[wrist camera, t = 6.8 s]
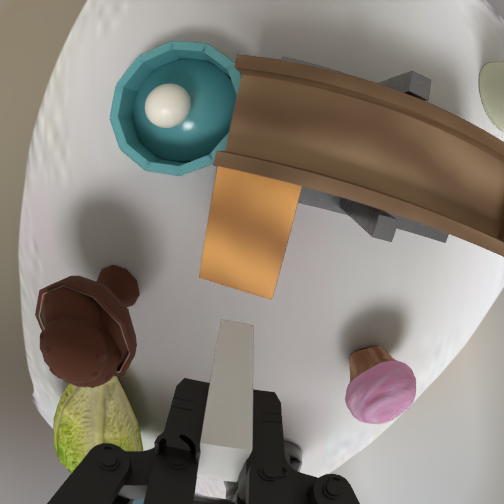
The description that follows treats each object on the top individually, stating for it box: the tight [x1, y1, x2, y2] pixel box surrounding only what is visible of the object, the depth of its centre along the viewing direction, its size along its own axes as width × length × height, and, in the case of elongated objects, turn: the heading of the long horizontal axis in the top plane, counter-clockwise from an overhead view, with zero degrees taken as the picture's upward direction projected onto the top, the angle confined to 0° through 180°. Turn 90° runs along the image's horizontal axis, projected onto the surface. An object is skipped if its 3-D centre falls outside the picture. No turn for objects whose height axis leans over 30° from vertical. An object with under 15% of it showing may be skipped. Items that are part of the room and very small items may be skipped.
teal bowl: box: [110, 41, 241, 176], centre depth 23 cm, size 12×12×4 cm
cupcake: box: [345, 346, 416, 424], centre depth 30 cm, size 9×9×10 cm
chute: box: [199, 55, 504, 300], centre depth 20 cm, size 17×24×6 cm
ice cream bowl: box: [35, 265, 139, 388], centre depth 24 cm, size 11×11×15 cm
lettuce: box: [53, 376, 143, 473], centre depth 35 cm, size 15×24×16 cm
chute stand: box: [282, 57, 449, 243], centre depth 21 cm, size 13×22×10 cm, turn 78°
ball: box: [145, 83, 191, 128], centre depth 22 cm, size 4×4×4 cm
